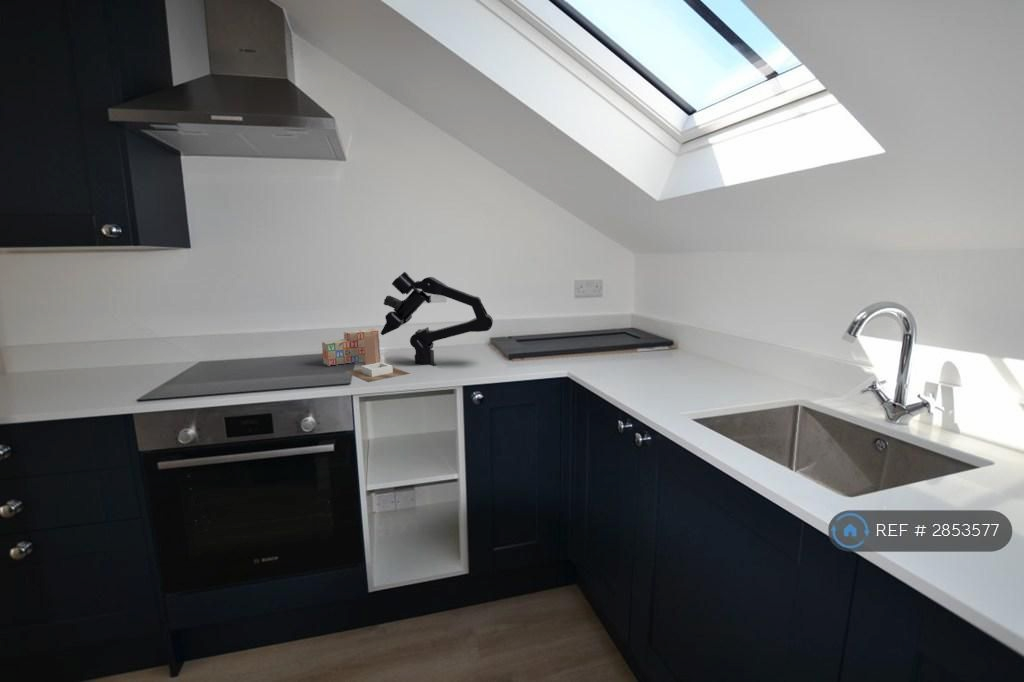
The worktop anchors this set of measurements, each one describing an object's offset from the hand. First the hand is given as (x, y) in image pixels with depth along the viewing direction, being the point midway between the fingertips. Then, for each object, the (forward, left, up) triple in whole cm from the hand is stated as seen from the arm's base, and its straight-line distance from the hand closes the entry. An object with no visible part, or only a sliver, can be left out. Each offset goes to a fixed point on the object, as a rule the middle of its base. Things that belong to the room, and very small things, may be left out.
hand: (384, 332), depth 181 cm
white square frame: (-4, +13, -12) cm, 18 cm away
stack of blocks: (+19, -5, -14) cm, 24 cm away
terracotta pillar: (+5, +1, -14) cm, 15 cm away
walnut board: (-4, +13, -14) cm, 19 cm away
